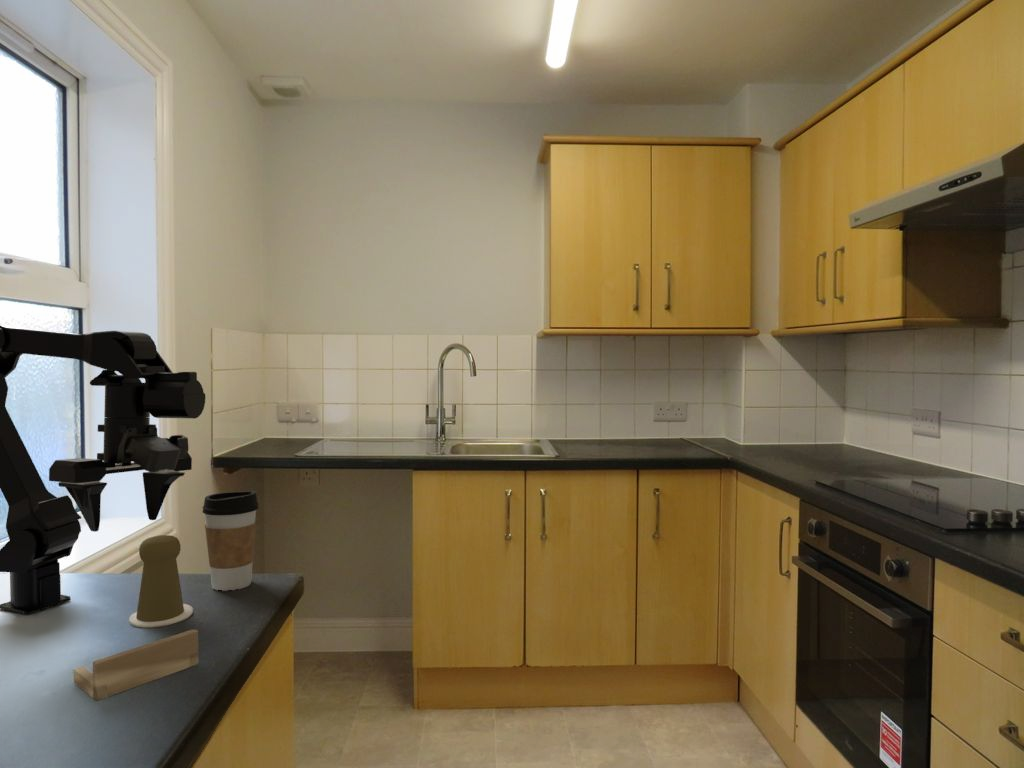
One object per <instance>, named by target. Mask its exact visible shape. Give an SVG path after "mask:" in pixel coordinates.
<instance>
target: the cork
mask: <svg viewBox="0 0 1024 768" xmlns="http://www.w3.org/2000/svg"><path fill="white" fill-rule="evenodd" d="M180 552H181V543H180V539H178V537H177V536H173V535H166V534H164V535H163V534H162V535H155V536H151V537H148V538H146V539H145V538H144V539H143V541H142V542H141V544H140V545H139V548H138V554H139V557H140V560H141V561H142V562H143V565H142V566H143V567H142V573H141V580H140V587H139V595H138V596H139V597H138V602H137V609H136V612H137V615H136V618H137V619H138V620H139V621H144V622H155V621H163V620H168V619H171V618H174V617H177V616H179V615H181V614H182V613H183V612H184V606H183V604H184V600H183V593H182V587H181V581H180V573H179V568H178V561H177V558H178V556H180Z"/></svg>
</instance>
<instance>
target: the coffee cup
mask: <svg viewBox="0 0 1024 768" xmlns="http://www.w3.org/2000/svg"><path fill="white" fill-rule="evenodd" d="M258 509H259V502H258V497H257V491H254V490H250V491H249V490H248V491H247V490H246V491H243V490H242V491H228V492H227V491H226V492H225V491H224V492H219V493H212V494H208V495H206V496H205V497H204V500H203V506H202V514H205V515H204V517H205V524H204V529H205V538H206V547H207V548H206V549H207V555H208V563H209V572H210V581H211V588H212V589H213V590H214V589H215V591H218V590H222V591H221V592H228V590H232V591H236V589H238V590H240V589H244V588H247V587H248V586H250V585H251V584H252V576H253V575H252V573H253V561H254V554H255V553H254V552H255V543H256V533H257V530H256V529H257V520H256V518H257V517H256V515H257V514H256V513H257V510H258Z"/></svg>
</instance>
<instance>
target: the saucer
mask: <svg viewBox="0 0 1024 768" xmlns="http://www.w3.org/2000/svg"><path fill="white" fill-rule="evenodd" d="M183 606H184V612H183V613H182V614H181V615H179V616H177V617H174V618H171V619H168V620H163V621H155V622H144V621H139V620H138V619H137V618H136V615H137V611H136V612H134V613H132V614H131V615H130V616H129V618H128V619H129V621H128V622H129V624H130V625H131V626H133V627H135V628H136V627H137V628H160V627H165V626H169V625H174V624H177V623H180V622H182V621H185V620H187V619H188V618H190V617H191V616H192V615H193V613H194V608H193V607H192V605H190V604H187V603H183Z"/></svg>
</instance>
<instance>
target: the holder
mask: <svg viewBox="0 0 1024 768" xmlns="http://www.w3.org/2000/svg"><path fill="white" fill-rule="evenodd" d="M196 665H199V630H196V629H194V628H193V629H189V630H187V631H183V632H181V633H178V634H173V635H170V636H168V637H165V638H162V639H158V640H156V641H152V642H149V643H146V644H142V645H139V646H137V647H134V648H133V647H132V648H130V649H128V650H125V651H121V652H118V653H115V654H111V655H108V656H106V657H103V658H99V659H95V660H93V661H92V671H91V670H89V669H88V668H87V667H85V666H80V667H76V668H73V684H75V685H76V686H78V687H79V688H80V689H81V690H83V692H85V693H86V694H87V695H89V696H90V697H91V698H93V699H94V700H95V701H97V702H98V701H101V700H102V699H106V698H108V697H111V696H114V695H116V694H120V693H122V692H125V691H127V690H131V689H133V688H135V687H138V686H141V685H145V684H146V683H149V682H152V681H155V680H158V679H161V678H163V677H166V676H169V675H172V674H175V673H178V672H180V671H182V670H185V669H188V668H190V667H191V668H192V667H194V666H196Z"/></svg>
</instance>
